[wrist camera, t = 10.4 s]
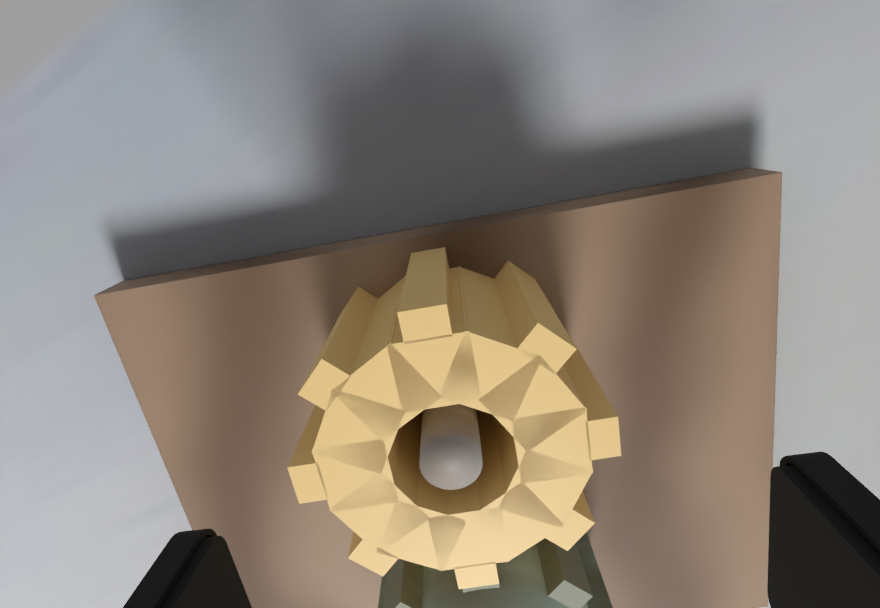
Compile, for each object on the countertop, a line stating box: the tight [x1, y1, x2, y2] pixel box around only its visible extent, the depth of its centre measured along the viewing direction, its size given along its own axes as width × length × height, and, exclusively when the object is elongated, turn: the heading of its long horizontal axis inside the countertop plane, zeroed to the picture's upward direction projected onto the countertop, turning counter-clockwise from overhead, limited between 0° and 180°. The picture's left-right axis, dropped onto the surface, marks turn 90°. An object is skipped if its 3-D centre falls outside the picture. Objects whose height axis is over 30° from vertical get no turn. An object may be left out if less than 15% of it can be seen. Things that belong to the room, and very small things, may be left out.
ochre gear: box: [287, 247, 621, 589], centre depth 14 cm, size 7×7×5 cm
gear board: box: [94, 168, 782, 608], centre depth 16 cm, size 20×16×6 cm
